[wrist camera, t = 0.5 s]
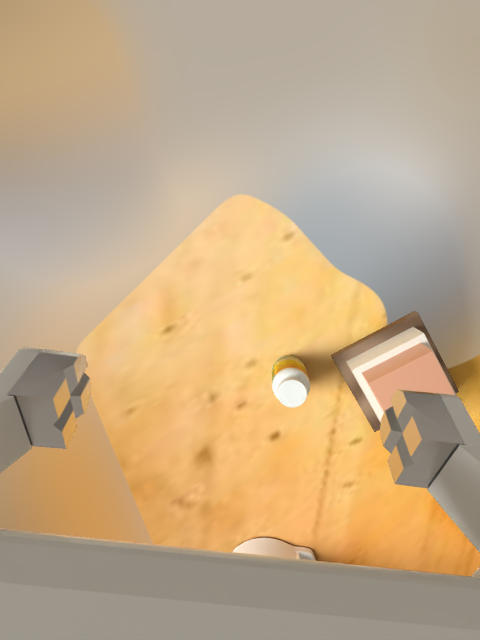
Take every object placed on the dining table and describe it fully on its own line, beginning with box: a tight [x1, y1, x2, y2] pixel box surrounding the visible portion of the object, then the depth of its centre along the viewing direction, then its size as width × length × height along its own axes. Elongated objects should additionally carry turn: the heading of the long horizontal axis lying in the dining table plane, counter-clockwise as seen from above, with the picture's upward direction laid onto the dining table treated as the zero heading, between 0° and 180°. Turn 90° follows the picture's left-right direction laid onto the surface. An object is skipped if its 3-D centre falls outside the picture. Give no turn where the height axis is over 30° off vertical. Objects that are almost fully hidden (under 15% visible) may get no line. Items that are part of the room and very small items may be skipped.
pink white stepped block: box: [346, 327, 456, 423], centre depth 55 cm, size 11×11×8 cm
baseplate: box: [331, 311, 459, 432], centre depth 59 cm, size 14×14×2 cm
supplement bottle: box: [272, 356, 310, 407], centre depth 56 cm, size 5×5×10 cm
